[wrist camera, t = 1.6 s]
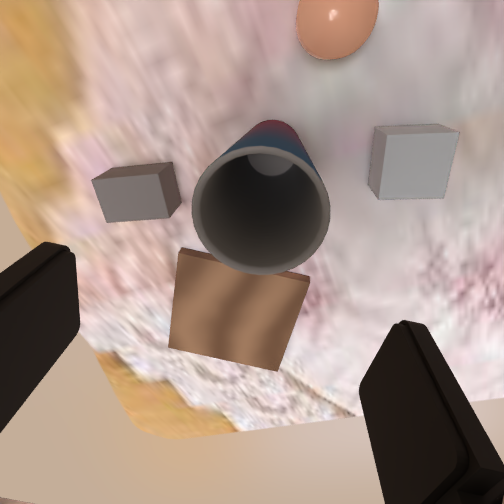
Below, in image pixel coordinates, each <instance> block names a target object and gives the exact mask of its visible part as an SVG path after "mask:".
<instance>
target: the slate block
mask: <svg viewBox="0 0 504 504" xmlns="http://www.w3.org/2000/svg"><path fill="white" fill-rule="evenodd" d="M459 133H460V132H458V131H456V130H453V129H450V128H448V127H445V126H442V125H440V124H425V125H404V126H382V127H375V130H374V138H373V147H372V156H371V164H370V173H369V181H368V186H369V187H370V188H371V190H372V191H373V193H374V194H375V196H376V197H377V199H378V200H396V199H440V198H444V196H445V192H446V187H447V183H448V179H449V175H450V171H451V167H452V162H453V158H454V154H455V150H456V146H457V141H458V137H459Z"/></svg>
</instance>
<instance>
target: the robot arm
mask: <svg viewBox="0 0 504 504" xmlns="http://www.w3.org/2000/svg"><path fill="white" fill-rule="evenodd" d="M79 328H80V313H79V299H78V286H77V272H76V258H75V254H74V253H72V252H70V249H69V247H67V246H64V245H60V244H55V243H51V242H43V243H41V244H40V245H39V246H37V247H36V248H34V249H33V250H32V251H30V252H29V253H27V254H26V255H25V256H23V257H22V258H21V259H19V260H18V261H16V262H15V263H14V264H12V265H11V266H9V267H8V268H7V269H5V270H4V271H2V272H1V273H0V433H1V431H2V430H3V429H4V428H5V426H6V425H7V424H8V423H9V421H10V420H11V419H12V417H13V416H14V415H15V414H16V412H17V411H18V410H19V408H20V407H21V406H22V405H23V403H24V402H25V401H26V399H27V398H28V397H29V396H30V394H31V393H32V391H33V390H34V389H35V388H36V386H37V385H38V384H39V382H40V381H41V380H42V379H43V377H44V376H45V375H46V373H47V372H48V371H49V370H50V368H51V367H52V366H53V365H54V363H55V362H56V361H57V359H58V358H59V357H60V356H61V354H62V353H63V352H64V350H65V349H66V348H67V346H68V345H69V344H70V343H71V341H72V340H73V339H74V337H75V336H76V335H77V333H78V331H79ZM359 396H360V400H361V404H362V409H363V413H364V417H365V421H366V425H367V430H368V433H369V438H370V442H371V447H372V451H373V455H374V459H375V463H376V468H377V472H378V476H379V480H380V485H381V489H382V493H383V497H384V501H385V504H504V464H503V462H502V460H501V458H500V457H499V455H498V453H497V451H496V450H495V448H494V446H493V444H492V443H491V441H490V439H489V437H488V435H487V434H486V432H485V430H484V428H483V426H482V425H481V423H480V421H479V419H478V418H477V416H476V414H475V412H474V410H473V409H472V407H471V405H470V403H469V401H468V400H467V398H466V396H465V394H464V393H463V391H462V389H461V387H460V385H459V384H458V382H457V380H456V378H455V377H454V375H453V373H452V371H451V369H450V368H449V366H448V364H447V362H446V361H445V359H444V357H443V355H442V353H441V352H440V350H439V348H438V346H437V345H436V343H435V341H434V339H433V337H432V336H431V334H430V332H429V330H428V329H427V327H426V326H425V325H424V324H421V323H416V322H412V321H407V320H402V321H401V322H400V323H399V324H397V323H396V324H394V325H393V326H392V328H391V330H390V331H389V333H388V335H387V337H386V338H385V340H384V342H383V344H382V346H381V347H380V349H379V351H378V353H377V354H376V356H375V358H374V360H373V362H372V363H371V365H370V367H369V369H368V370H367V372H366V374H365V376H364V378H363V379H362V381H361V383H360V387H359ZM0 504H33V503H28V502H23V501H17V500H12V499H7V498H1V497H0Z"/></svg>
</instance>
